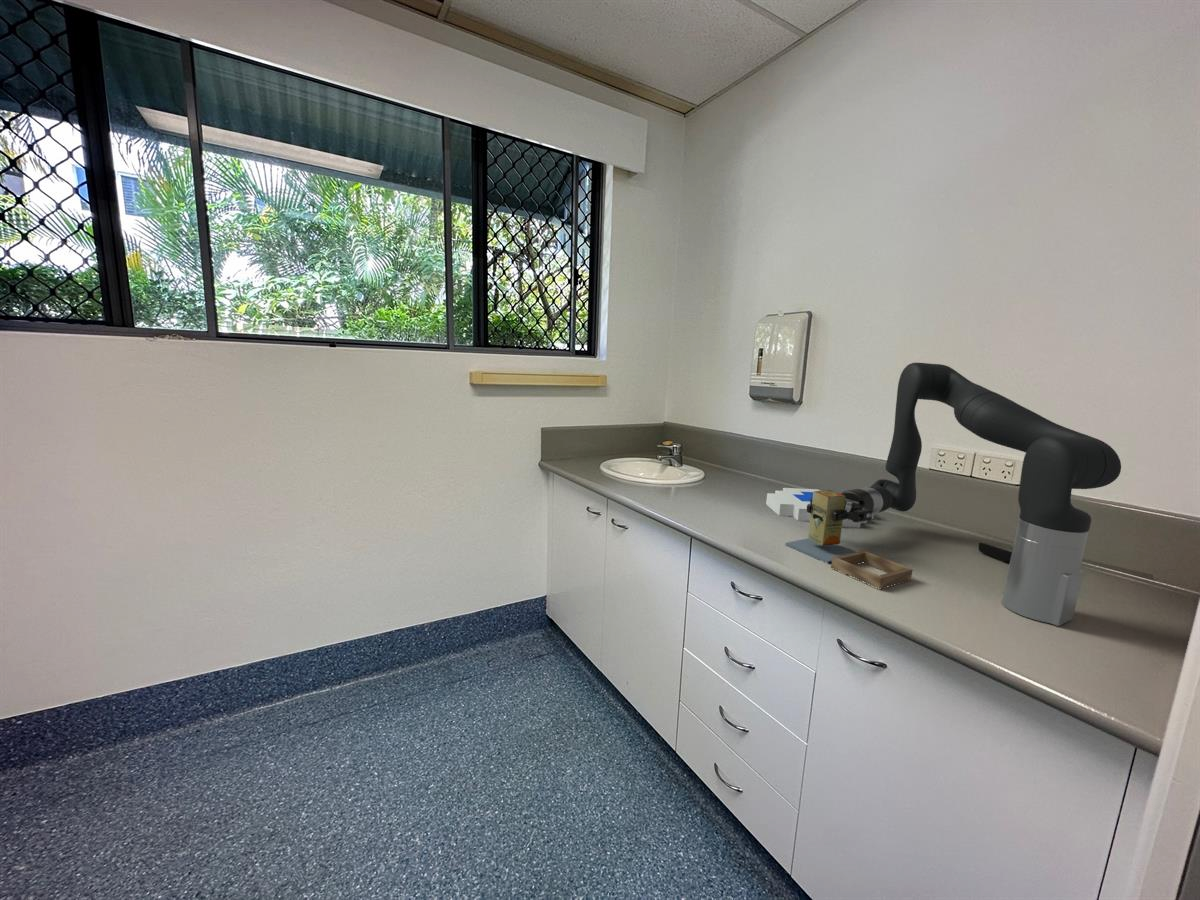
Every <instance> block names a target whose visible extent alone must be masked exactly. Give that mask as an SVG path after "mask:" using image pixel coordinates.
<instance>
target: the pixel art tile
mask: <svg viewBox="0 0 1200 900" xmlns="http://www.w3.org/2000/svg"><path fill="white" fill-rule="evenodd" d="M814 491H821V490H820V489H817V488H816V489H815V488H793V487H791V488H790V487H783V488H782V490H775V492H774V493H772V492H771V493H769V492H767V493H766V503H765V504H766V505H767V507H769V508H770V509H771V510H773V512H774V513H775V514H777V516H779V517H793V518H794V519H795V520H796V521H802V522H810V518H811V513H808V512H807V505H808V504H810V500H811V498H813V492H814ZM874 516H875V514H874V515H872V519H873V520H874ZM865 523H867V524H868V520H867V521H862V522H853V521H852V520H843V521H842V528H858V529H860V528H861V524H865Z"/></svg>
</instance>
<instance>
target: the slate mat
mask: <svg viewBox="0 0 1200 900" xmlns="http://www.w3.org/2000/svg"><path fill="white" fill-rule="evenodd" d="M785 546H786V547H789V548H791V549H793V550H795V551H798V552H800V553H803V554H804V555H806V556H809V557H811V556H812V558H813V557H814V559H816V560H818V559H819V560H818V561H820V560H822V561H824V562H823V563H825V562H827V563H828V564H830V563H829V562H832V558H833V557H838V556H842V555H846V554H850V553H855V552H858V551H856V550H853V549H851V548H849V547H846V546H843V545H841V544H834V545H824V546H822V545H820V544H818V543H817V542H815V541H813V540H811V539H809V538H808V537H807V538H803V539H797V540H794V541H788V542H785ZM822 561H821V562H822ZM827 563H826V564H827Z"/></svg>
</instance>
